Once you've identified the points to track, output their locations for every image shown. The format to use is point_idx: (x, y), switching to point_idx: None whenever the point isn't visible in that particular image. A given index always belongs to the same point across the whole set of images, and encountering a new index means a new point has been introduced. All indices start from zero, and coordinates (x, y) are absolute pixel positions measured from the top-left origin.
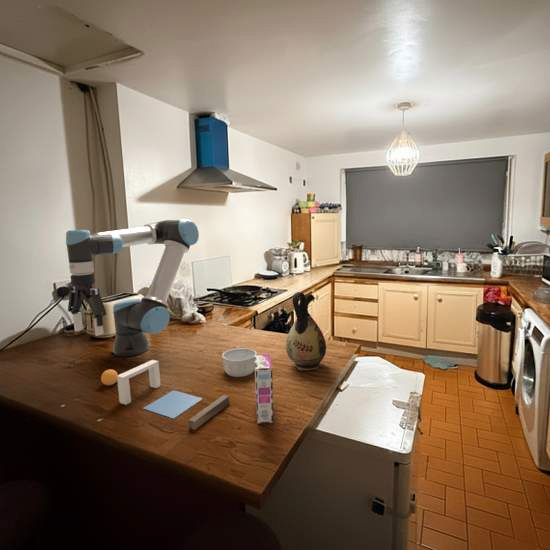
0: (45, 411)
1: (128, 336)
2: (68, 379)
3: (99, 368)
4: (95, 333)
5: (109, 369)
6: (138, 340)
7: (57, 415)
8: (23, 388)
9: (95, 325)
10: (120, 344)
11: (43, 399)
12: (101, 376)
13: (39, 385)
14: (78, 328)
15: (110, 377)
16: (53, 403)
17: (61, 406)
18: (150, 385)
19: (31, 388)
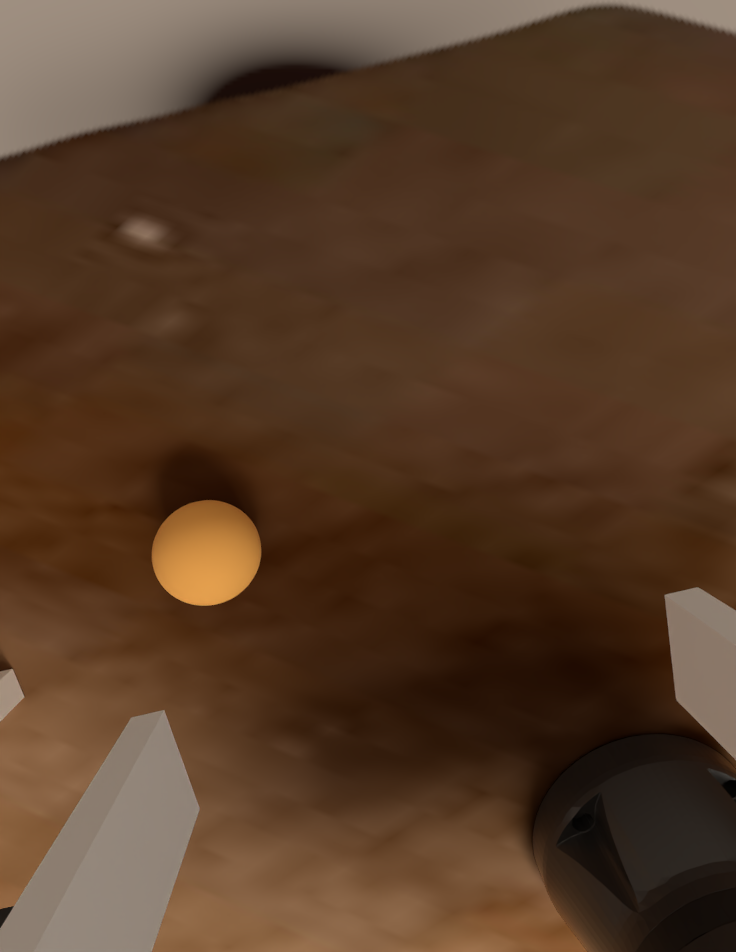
0: (143, 125)
1: (644, 927)
2: (519, 392)
3: (525, 587)
4: (141, 737)
5: (206, 580)
6: (588, 931)
7: (30, 159)
8: (631, 134)
9: (27, 890)
10: (653, 822)
11: (335, 174)
12: (216, 512)
13: (587, 227)
14: (694, 659)
15: (153, 546)
16: (222, 199)
17: (139, 220)
18: (3, 673)
19: (583, 173)
